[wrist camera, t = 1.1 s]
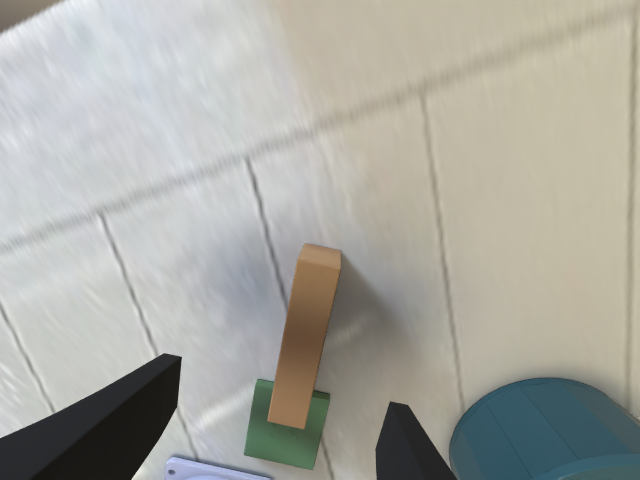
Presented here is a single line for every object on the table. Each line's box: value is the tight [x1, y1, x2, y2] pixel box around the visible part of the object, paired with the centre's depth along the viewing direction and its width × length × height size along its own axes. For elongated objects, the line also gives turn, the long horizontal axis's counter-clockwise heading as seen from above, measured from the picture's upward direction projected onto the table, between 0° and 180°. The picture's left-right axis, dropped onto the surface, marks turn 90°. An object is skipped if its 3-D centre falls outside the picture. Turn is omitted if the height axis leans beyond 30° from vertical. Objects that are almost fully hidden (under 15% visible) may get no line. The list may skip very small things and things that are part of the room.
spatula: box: [244, 243, 341, 470], centre depth 18 cm, size 16×5×3 cm, turn 169°
